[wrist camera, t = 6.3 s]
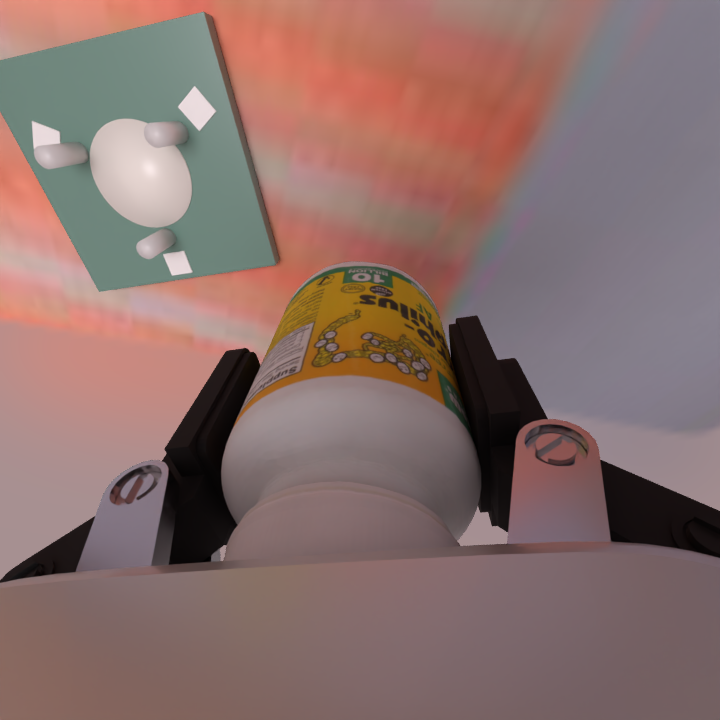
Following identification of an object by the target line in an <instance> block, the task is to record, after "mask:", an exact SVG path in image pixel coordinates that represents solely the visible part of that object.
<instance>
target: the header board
mask: <svg viewBox="0 0 720 720" xmlns="http://www.w3.org/2000/svg"><path fill="white" fill-rule="evenodd" d="M0 112H1V113H2V115H3V117H4V119H5V121H6V123H7V124H8V126H9V128H10V130H11V132H12V134H13V135H14V137H15V139H16V141H17V143H18V144H19V146H20V148H21V150H22V152H23V154H24V155H25V157H26V159H27V161H28V163H29V165H30V166H31V168H32V170H33V172H34V174H35V175H36V177H37V179H38V181H39V183H40V185H41V186H42V188H43V190H44V192H45V194H46V196H47V197H48V199H49V201H50V203H51V205H52V207H53V208H54V210H55V212H56V214H57V216H58V217H59V219H60V221H61V223H62V225H63V227H64V228H65V230H66V232H67V234H68V236H69V238H70V239H71V241H72V243H73V245H74V247H75V248H76V250H77V252H78V254H79V256H80V258H81V259H82V261H83V263H84V265H85V267H86V269H87V270H88V272H89V274H90V276H91V278H92V280H93V281H94V283H95V285H96V287H97V289H98V290H99V292H100V291H107V290H114V289H120V288H127V287H134V286H140V285H147V284H154V283H160V282H167V281H173V280H180V279H187V278H193V277H200V276H207V275H213V274H220V273H226V272H233V271H240V270H246V269H253V268H260V267H266V266H273V265H276V264H277V263H278V261H279V260H280V259H279V256H278V252H277V249H276V245H275V242H274V238H273V234H272V231H271V227H270V224H269V220H268V216H267V213H266V209H265V206H264V202H263V198H262V195H261V191H260V188H259V184H258V180H257V177H256V173H255V170H254V166H253V163H252V159H251V155H250V152H249V148H248V145H247V141H246V137H245V134H244V130H243V127H242V123H241V119H240V116H239V112H238V109H237V105H236V101H235V98H234V94H233V91H232V87H231V84H230V80H229V76H228V73H227V69H226V66H225V62H224V58H223V55H222V51H221V48H220V44H219V40H218V37H217V33H216V30H215V26H214V22H213V19H212V16H210V15H209V14H207V13H205V12H201V13H197V14H193V15H188V16H184V17H180V18H176V19H172V20H167V21H163V22H159V23H155V24H151V25H147V26H142V27H138V28H134V29H130V30H126V31H121V32H117V33H113V34H109V35H105V36H101V37H96V38H92V39H88V40H84V41H80V42H75V43H71V44H67V45H63V46H59V47H54V48H50V49H46V50H42V51H38V52H34V53H29V54H25V55H21V56H17V57H13V58H8V59H4V60H0Z"/></svg>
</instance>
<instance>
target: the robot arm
mask: <svg viewBox="0 0 720 720" xmlns="http://www.w3.org/2000/svg"><path fill="white" fill-rule="evenodd" d="M449 337H450V350H451V361H452V364H453V367H454V371H455V375H456V379H457V382H458V385H459V389H460V392H461V396H462V400H463V403H464V407H465V410H466V413H467V417H468V421H469V424H470V428H471V432H472V435H473V439H474V442H475V445H476V449H477V454H478V458H479V463H480V469H481V492H480V498H479V502H478V507H479V510H480V512H488V513H489V517H490V520H491V524H492V526H499V527H500V528H502V529H503V530H505V531H506V532H508V541H507V544H495V545H474V546H457V547H440V548H423V549H406V550H389V551H372V552H355V553H339V554H323V555H308V556H292V557H277V558H261V559H246V560H231V561H220V548H221V547H222V546H223V545H227V543H228V541H229V539H230V536H231V534H232V533H233V531H234V529H235V528H236V527H237V526H238V524H237V523H236V522H235V520H234V518H233V516H232V515H231V513H230V511H229V508H228V506H227V503H226V500H225V498H224V493H223V489H222V481H221V468H222V459H223V455H224V451H225V447H226V444H227V441H228V439H229V436H230V434H231V432H232V429H233V427H234V424H235V421H236V419H237V417H238V415H239V413H240V411H241V408H242V406H243V404H244V402H245V399H246V397H247V395H248V393H249V391H250V388H251V386H252V384H253V382H254V379H255V377H256V375H257V373H258V371H259V368H260V363H259V361H258V358H257V356H256V354H255V353H254V352H250V351H249V350H248V349H246V348H243V349H236V350H229V351H226V352H225V354H224V355H223V357H222V358H221V360H220V362H219V363H218V365H217V366H216V368H215V370H214V371H213V373H212V374H211V376H210V378H209V379H208V381H207V382H206V384H205V385H204V387H203V389H202V390H201V392H200V393H199V395H198V397H197V398H196V400H195V401H194V403H193V405H192V406H191V408H190V410H189V411H188V412H187V414H186V416H185V417H184V419H183V421H182V422H181V424H180V425H179V427H178V428H177V430H176V432H175V433H174V435H173V436H172V438H171V440H170V441H169V443H168V445H167V446H166V447H165V451H166V453H167V454H166V456H165V457H164V459H163V460H162V461H160V460H150V461H145V462H141V463H139V464H137V465H134V466H132V467H130V468H129V469H127V470H125V471H124V472H122V473H121V474H120V475H119V476H117V477H116V478H115V479H114V480H113V481H112V482H111V484H110V485H109V486H108V487H107V489H106V491H105V493H104V494H103V497H102V499H101V502H100V505H99V508H98V510H97V513H96V516H95V517H93V518H91V519H90V520H88V521H87V522H85V523H83V524H82V525H80V526H79V527H77V528H76V529H74V530H72V531H71V532H70V533H68V534H66V535H65V536H63V537H61V538H60V539H58V540H57V541H55V542H53V543H52V544H50V545H49V546H47V547H46V548H44V549H42V550H41V551H39V552H38V553H36V554H34V555H33V556H31V557H30V558H28V559H27V560H25V561H23V562H22V563H20V564H19V565H18V566H16V567H15V568H13V569H12V570H11V571H9V572H8V573H7V574H6V575H5V576H4V577H3V578H2V579H1V580H0V720H720V511H718V510H716V509H714V508H712V507H709V506H707V505H705V504H702V503H700V502H698V501H695V500H693V499H691V498H688V497H686V496H684V495H681V494H679V493H677V492H674V491H672V490H670V489H667V488H665V487H663V486H660V485H658V484H656V483H653V482H651V481H649V480H646V479H644V478H642V477H639V476H637V475H635V474H632V473H630V472H628V471H626V470H623V469H621V468H619V467H616V466H614V465H612V464H609V463H607V462H605V461H602V460H600V456H599V449H598V446H597V443H596V441H595V439H594V438H593V437H592V436H591V435H590V434H589V433H588V432H587V431H585V430H584V429H582V428H581V427H579V426H577V425H575V424H572V423H570V422H567V421H562V420H556V419H548V418H547V416H546V415H545V413H544V411H543V409H542V407H541V405H540V403H539V401H538V399H537V397H536V396H535V394H534V392H533V390H532V388H531V386H530V384H529V382H528V380H527V379H526V377H525V375H524V373H523V371H522V369H521V367H520V365H519V363H518V362H517V360H516V359H515V358H510V359H502V360H497V358H496V356H495V354H494V352H493V349H492V347H491V345H490V343H489V340H488V338H487V336H486V334H485V332H484V329H483V327H482V325H481V323H480V320H479V318H478V316H470V317H463V318H456V324H450V325H449Z"/></svg>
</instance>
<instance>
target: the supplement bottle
mask: <svg viewBox="0 0 720 720" xmlns="http://www.w3.org/2000/svg"><path fill="white" fill-rule="evenodd" d="M221 481H222V489H223V493H224V498H225V500H226V503H227V506H228V508H229V511H230V513H231V515H232V516H233V518H234V520H235V522H236V523H237V524H238V526H237V527H236V528H235V529H234V531H233V533H232V534H231V536H230V539H229V541H228V543H227V547H226V553H225V557H224V560H223V561H231V560H246V559H261V558H277V557H292V556H308V555H323V554H339V553H355V552H372V551H389V550H406V549H423V548H440V547H457V546H460V545H459V543H458V542H457V540H458V539H459V538H460V537H461V536H462V535H463V533H464V532H465V531H466V529H467V527H468V526H469V524H470V522H471V521H472V519H473V517H474V514H475V512H476V509H477V506H478V502H479V498H480V492H481V469H480V463H479V458H478V454H477V449H476V445H475V442H474V439H473V435H472V432H471V428H470V424H469V421H468V417H467V413H466V410H465V407H464V403H463V400H462V396H461V392H460V389H459V385H458V382H457V379H456V375H455V371H454V367H453V364H452V361H451V357H450V353H449V349H448V346H447V342H446V338H445V334H444V331H443V328H442V324H441V320H440V317H439V314H438V310H437V308H436V306H435V304H434V302H433V300H432V298H431V297H430V295H429V294H428V293H427V291H426V290H425V289H424V288H423V287H422V286H421V285H420V284H419V283H418V282H417V281H416V280H415V279H413V278H412V277H410V276H409V275H408V274H406V273H405V272H403V271H401V270H399V269H397V268H394V267H392V266H388V265H384V264H377V263H370V262H344V263H339V264H334V265H332V266H329V267H326V268H324V269H322V270H320V271H319V272H317V273H315V274H314V275H312V276H311V277H310V278H309V279H307V280H306V281H305V282H304V283H303V284H302V285H301V286H300V287H299V289H298V290H297V291H296V292H295V294H294V296H293V297H292V299H291V301H290V302H289V304H288V306H287V308H286V310H285V313H284V315H283V317H282V319H281V321H280V324H279V326H278V328H277V330H276V333H275V335H274V337H273V339H272V342H271V344H270V346H269V349H268V351H267V353H266V355H265V358H264V360H263V362H262V364H261V366H260V368H259V371H258V373H257V375H256V377H255V379H254V382H253V384H252V386H251V388H250V391H249V393H248V395H247V397H246V399H245V402H244V404H243V406H242V408H241V411H240V413H239V415H238V417H237V419H236V421H235V424H234V427H233V429H232V432H231V434H230V436H229V439H228V441H227V444H226V447H225V451H224V455H223V459H222V468H221Z"/></svg>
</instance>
